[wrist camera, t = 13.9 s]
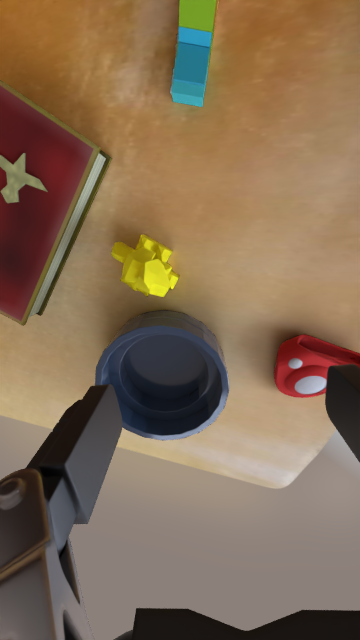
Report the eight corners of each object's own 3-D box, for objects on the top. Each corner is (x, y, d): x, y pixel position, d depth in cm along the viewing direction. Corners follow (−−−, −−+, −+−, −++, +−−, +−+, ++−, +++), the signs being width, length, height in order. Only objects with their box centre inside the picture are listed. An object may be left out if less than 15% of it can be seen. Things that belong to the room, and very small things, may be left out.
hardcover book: (-47, 266, 32) (-81, 271, 28) (5, 85, 25) (-30, 59, 21) (41, 314, 34) (21, 326, 30) (112, 158, 27) (98, 146, 23)
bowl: (98, 317, 33) (79, 335, 28) (216, 301, 32) (222, 317, 26) (124, 412, 39) (112, 444, 33) (227, 403, 37) (233, 434, 31)
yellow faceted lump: (128, 224, 29) (107, 223, 22) (188, 259, 30) (187, 270, 23) (107, 269, 31) (82, 281, 24) (165, 300, 32) (157, 322, 25)
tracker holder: (294, 412, 36) (259, 374, 31) (286, 386, 39) (254, 348, 35) (393, 383, 30) (368, 332, 26) (373, 355, 34) (349, 306, 29)
